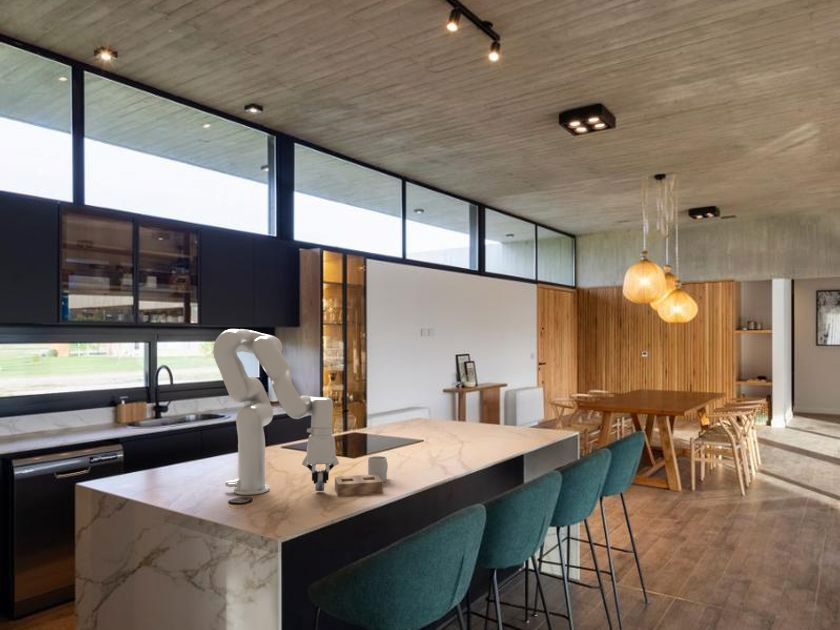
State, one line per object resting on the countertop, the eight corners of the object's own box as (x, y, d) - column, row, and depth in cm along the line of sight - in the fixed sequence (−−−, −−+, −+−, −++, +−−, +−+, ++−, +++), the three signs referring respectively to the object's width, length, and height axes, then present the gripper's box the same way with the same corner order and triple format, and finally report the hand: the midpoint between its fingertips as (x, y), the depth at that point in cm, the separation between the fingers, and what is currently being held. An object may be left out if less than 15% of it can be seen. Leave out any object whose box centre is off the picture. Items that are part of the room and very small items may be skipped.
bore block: (338, 495, 217) (337, 484, 218) (334, 487, 229) (334, 476, 229) (382, 492, 221) (382, 481, 221) (377, 484, 233) (377, 474, 233)
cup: (364, 482, 238) (364, 458, 238) (379, 476, 246) (379, 454, 246) (379, 484, 234) (379, 460, 234) (394, 478, 242) (394, 456, 243)
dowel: (315, 491, 220) (316, 471, 221) (315, 489, 224) (315, 469, 224) (324, 491, 221) (325, 471, 221) (324, 488, 224) (324, 469, 224)
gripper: (298, 433, 217) (297, 486, 217) (345, 433, 221) (343, 484, 221) (298, 430, 225) (296, 480, 224) (343, 429, 228) (341, 479, 228)
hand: (320, 482), depth 222 cm, fingers closed on dowel, 3 cm apart
